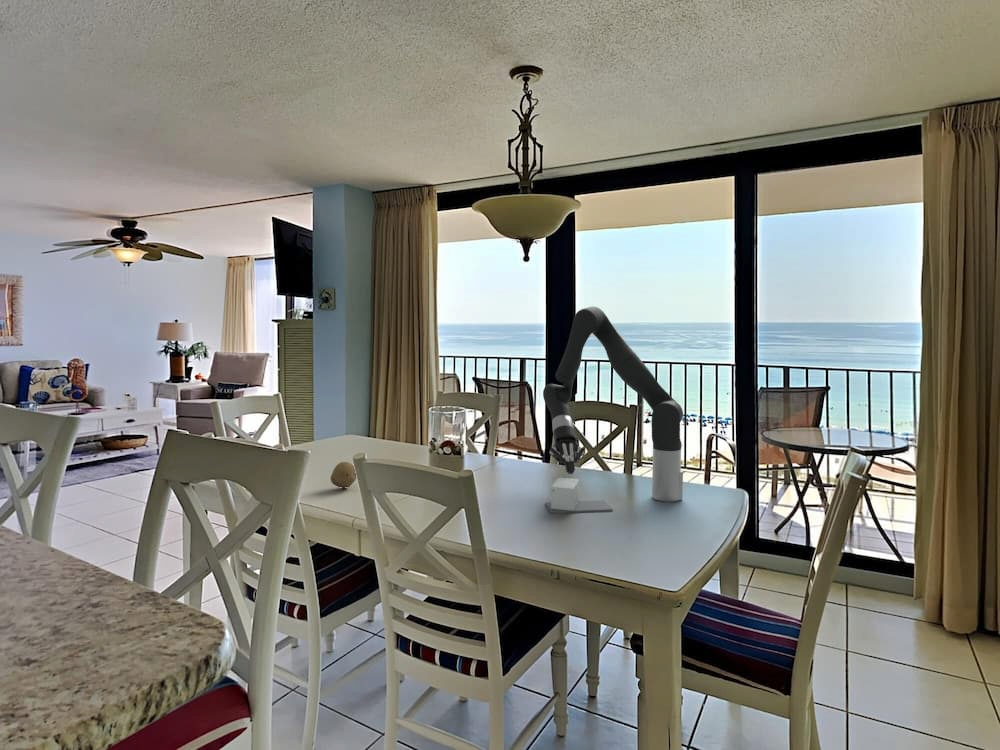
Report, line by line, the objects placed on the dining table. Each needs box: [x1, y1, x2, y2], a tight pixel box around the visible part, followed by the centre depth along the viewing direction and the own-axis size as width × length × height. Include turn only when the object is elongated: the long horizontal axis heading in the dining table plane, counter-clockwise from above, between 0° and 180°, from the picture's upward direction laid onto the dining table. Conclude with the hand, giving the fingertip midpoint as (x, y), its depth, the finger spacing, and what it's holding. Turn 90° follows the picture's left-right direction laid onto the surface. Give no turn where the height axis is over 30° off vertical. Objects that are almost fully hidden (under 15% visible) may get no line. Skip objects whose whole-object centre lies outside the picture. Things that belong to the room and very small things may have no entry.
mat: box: [544, 499, 614, 515], centre depth 195 cm, size 20×10×1 cm, turn 96°
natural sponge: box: [330, 461, 357, 488], centre depth 218 cm, size 9×9×10 cm
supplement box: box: [550, 477, 580, 511], centre depth 196 cm, size 7×7×13 cm
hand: (571, 472), depth 204 cm, fingers closed
